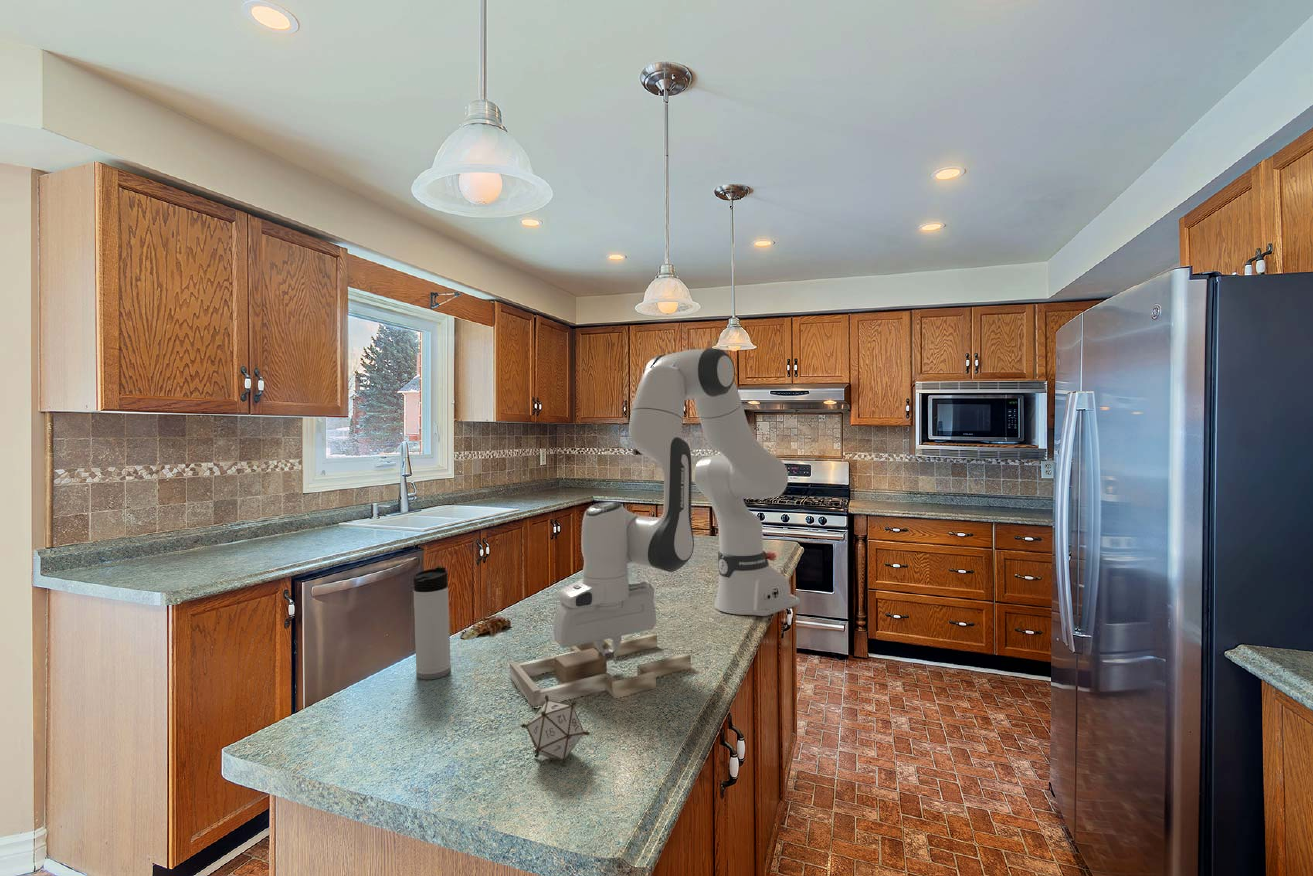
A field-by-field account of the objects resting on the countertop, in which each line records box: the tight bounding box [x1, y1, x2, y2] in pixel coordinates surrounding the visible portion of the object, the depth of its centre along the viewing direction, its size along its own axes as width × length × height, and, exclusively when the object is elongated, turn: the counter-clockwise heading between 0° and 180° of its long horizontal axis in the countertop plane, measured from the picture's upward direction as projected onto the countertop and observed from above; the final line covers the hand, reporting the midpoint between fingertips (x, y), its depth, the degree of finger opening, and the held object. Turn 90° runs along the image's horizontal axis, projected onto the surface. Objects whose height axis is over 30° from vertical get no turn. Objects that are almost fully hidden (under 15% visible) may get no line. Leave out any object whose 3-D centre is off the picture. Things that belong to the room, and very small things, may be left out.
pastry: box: [459, 613, 512, 640], centre depth 138 cm, size 7×12×4 cm, turn 146°
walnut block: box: [554, 648, 608, 684], centre depth 111 cm, size 8×6×4 cm
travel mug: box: [413, 566, 452, 681], centre depth 115 cm, size 6×7×20 cm
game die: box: [520, 695, 591, 765], centre depth 84 cm, size 9×8×10 cm
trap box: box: [509, 633, 692, 709], centre depth 113 cm, size 31×22×3 cm
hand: (607, 660), depth 113 cm, fingers closed
